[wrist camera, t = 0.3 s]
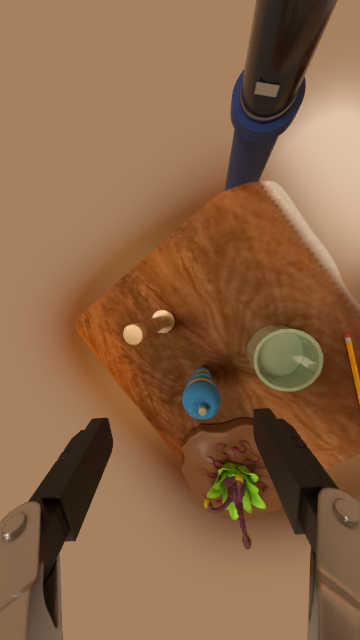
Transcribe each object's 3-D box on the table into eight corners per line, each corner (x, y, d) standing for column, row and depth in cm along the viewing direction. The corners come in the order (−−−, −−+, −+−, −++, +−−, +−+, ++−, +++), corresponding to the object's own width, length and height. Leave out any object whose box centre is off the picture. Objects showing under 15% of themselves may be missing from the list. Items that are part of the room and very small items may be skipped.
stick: (155, 307, 35) (118, 310, 20) (177, 312, 34) (155, 321, 20) (150, 328, 36) (111, 347, 21) (171, 335, 35) (146, 358, 20)
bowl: (255, 318, 32) (264, 321, 27) (313, 333, 31) (333, 339, 26) (239, 369, 34) (245, 380, 29) (294, 385, 33) (310, 399, 28)
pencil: (350, 332, 30) (348, 334, 30) (373, 436, 31) (371, 438, 31) (345, 332, 31) (342, 334, 30) (367, 433, 32) (365, 435, 31)
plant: (195, 509, 38) (192, 593, 27) (173, 426, 37) (159, 479, 26) (292, 503, 35) (332, 596, 24) (271, 412, 34) (303, 466, 23)
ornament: (185, 362, 35) (170, 405, 20) (207, 350, 34) (209, 387, 20) (198, 384, 35) (192, 443, 21) (220, 373, 34) (232, 426, 20)
